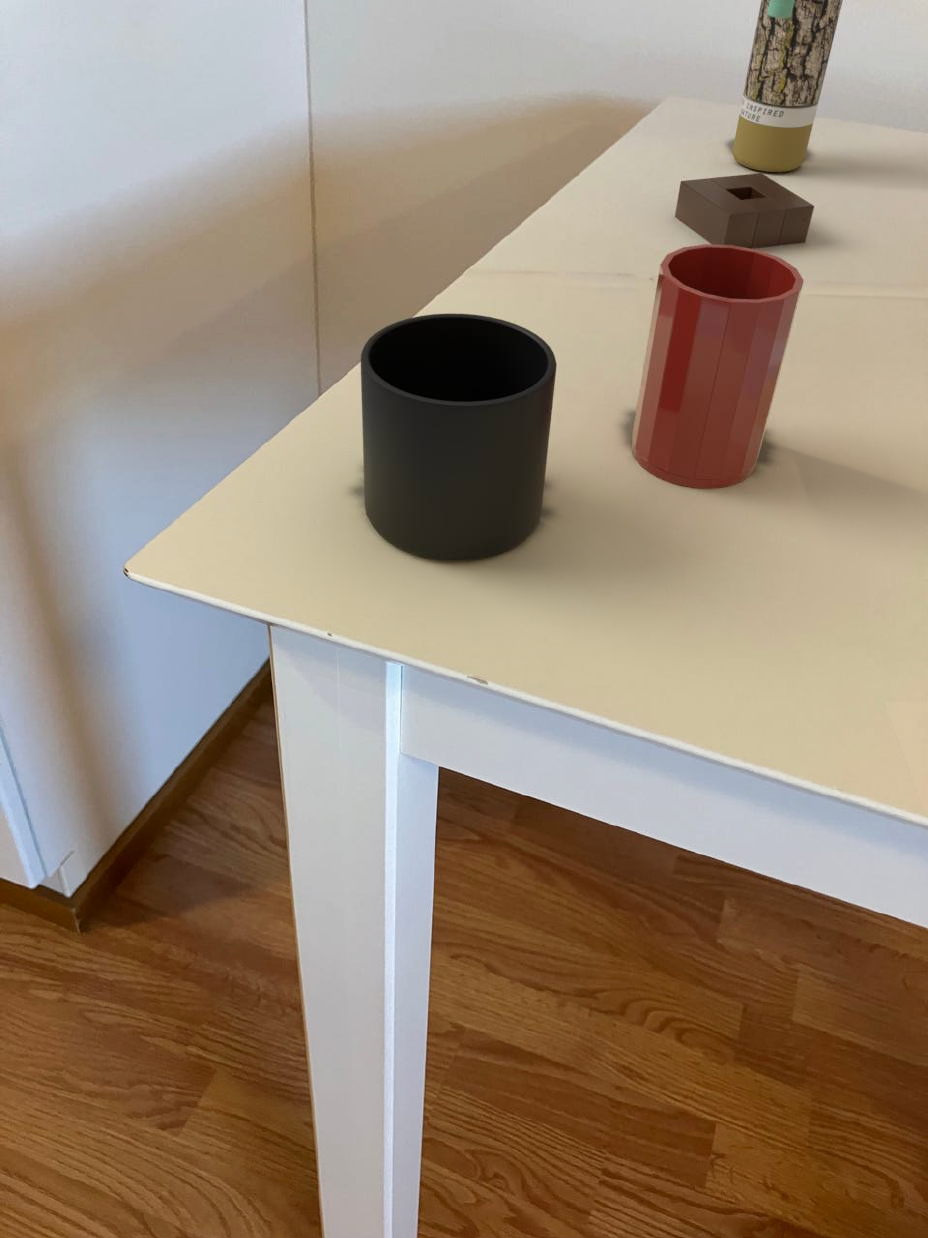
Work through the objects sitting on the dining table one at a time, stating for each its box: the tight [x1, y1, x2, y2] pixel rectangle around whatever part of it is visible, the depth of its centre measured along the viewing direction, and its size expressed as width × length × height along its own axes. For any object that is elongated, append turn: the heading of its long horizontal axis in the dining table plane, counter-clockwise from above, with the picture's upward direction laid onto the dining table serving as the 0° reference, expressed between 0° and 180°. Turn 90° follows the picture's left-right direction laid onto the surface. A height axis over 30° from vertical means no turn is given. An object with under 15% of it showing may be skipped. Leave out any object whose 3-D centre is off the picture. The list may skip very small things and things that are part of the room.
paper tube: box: [732, 0, 844, 173], centre depth 94 cm, size 7×7×25 cm
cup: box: [631, 243, 805, 489], centre depth 59 cm, size 7×7×11 cm
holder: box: [674, 172, 815, 250], centre depth 85 cm, size 8×8×4 cm
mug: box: [360, 313, 557, 561], centre depth 55 cm, size 9×12×9 cm
